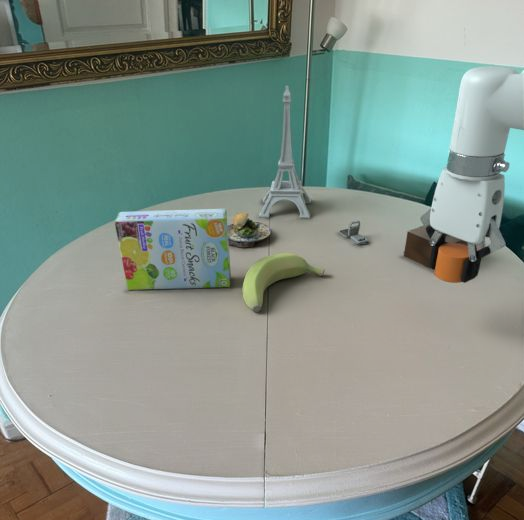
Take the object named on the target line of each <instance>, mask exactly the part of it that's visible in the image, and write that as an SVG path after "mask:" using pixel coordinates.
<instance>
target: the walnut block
mask: <svg viewBox="0 0 524 520" xmlns="http://www.w3.org/2000/svg"><path fill="white" fill-rule="evenodd" d="M406 232H407V233H406V238H405V245H404V251H403V257H404V258H407V259H409V260H411V261H413V262H415V263H417V264H419V265H421V266H424V267H426V268H428V269H431V270H433V271H435V268H434V269H432V268H430V261H431V260H430V257H431V251H432V245H431V244H430V238H429V236H428V234H427V232H426V228H425V227H424V225H423V224H422V225H420V226H418V227H415V228H412V229H410V230H408V231H406ZM445 242H448V243H459V244H464V245H467V246H468V243H467V242H466V241H463V240H460V239H458V238H455V237H452V236H450V235H448V237H447V238H446V240H445Z"/></svg>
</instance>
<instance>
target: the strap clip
mask: <svg viewBox="0 0 524 520" xmlns="http://www.w3.org/2000/svg"><path fill="white" fill-rule="evenodd" d="M355 224H357V225H355ZM360 229H361V222H360V220H352V221H351V222H350V223H349V224H348V228H346V229H341V230H339V233H340V235H341V236H342V237H345V238H347V239H348V238H350V241H351V242H352V243H354V244H355V245H358V246H360V245H364V244H365V245H366V244H368V243H369V239H368V238H367V237H366V236H364V235H363V234H360V233H359V232H360Z"/></svg>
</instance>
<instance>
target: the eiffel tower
mask: <svg viewBox="0 0 524 520" xmlns="http://www.w3.org/2000/svg"><path fill="white" fill-rule="evenodd" d="M284 87H285V88H284V92H283V95H282V104H283V119H282V120H283V121H282V122H283V123H282V136H281V137H282V138H281V139H282V140H281V150H280V158H279V159H278V163H277V167H278V170H277V173H276V177H275V179H274V180H271V181H272V182H271V185H270V188H269V190H268V192H267V193H266V194H265V196H264V197H263V200H262V203H263V204H264V205H263V207H262V209H261V210H260V211H259V214H258V218H263V219H264V218H265V219H266V218H267V219H268V218H270V216H271V212H270V211H271V209H272V207H273V206H274V205H275V204H276V203H277V202H279V201H281V200H289V201H290V202H292V203H294V204H295V206H296V207H297V209H298V212H299V219H307V220H309V219H311V212H310V211H309V210H308V207H307V204H310V205H311V204H312V198H311V197H310V196H309V194H308V193H307V192H306V190H305V189H304V187H303V186H302V181H301V180H299V178H298V174H297V171H296V168H295V159H294V157H293V148H292V136H291V135H292V134H291V112H290V111H291V106H290V105H291V103H292V99H291V95H292V93H291V91H290V88H289V85H285V86H284ZM284 172H288V178H289V179H288V180H283V175H284Z"/></svg>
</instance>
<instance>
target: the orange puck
mask: <svg viewBox="0 0 524 520" xmlns="http://www.w3.org/2000/svg"><path fill="white" fill-rule="evenodd" d="M468 258H469V253H468V246H467V245H464V244H459V243H447V244H443V245H441V246H440V247H439V250H438V255H437V261H436V267H435V270H434V273H433V274H434V276H435V277H436V278H437V279H438V280H440V281H443V282H446V283H451V284H452V283H453V284H458V283H463V282H462V281H461V277H462V272H463V267H464V263H465V260H466V259H468Z"/></svg>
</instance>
